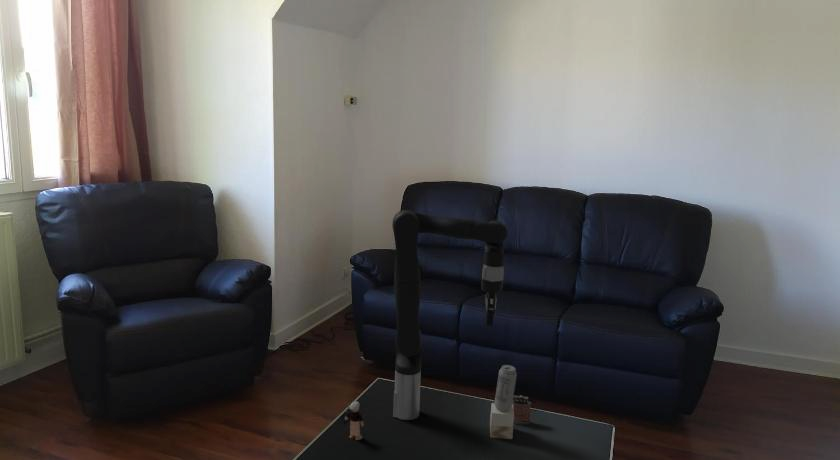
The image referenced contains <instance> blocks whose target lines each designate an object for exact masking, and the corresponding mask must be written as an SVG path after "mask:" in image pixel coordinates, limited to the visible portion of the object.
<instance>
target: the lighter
mask: <svg viewBox="0 0 840 460" xmlns="http://www.w3.org/2000/svg"><path fill="white" fill-rule="evenodd" d="M512 405H513V410H514V424H515V425H530V423H531V421H530V416H531V407H532V403H531V402H530V401H529V397H528V396H523V395H522V394H520V395H519V396H518V395H513V402H512ZM514 424H513V425H514Z"/></svg>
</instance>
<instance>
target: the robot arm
mask: <svg viewBox="0 0 840 460" xmlns="http://www.w3.org/2000/svg"><path fill="white" fill-rule="evenodd" d="M391 224H392V231H393V237H394V244H395V259H394V260H395V262H394V270H393V272H394V273H393V276H394V277H393V280H394V281H393V287H394V301H395V310H396V319H397V322H396V323H397V324H396V336H395V347H396V355H395V366H394V367H395V369H394V370H395V371H394V391H393V404H392V406H393V408H392V410H393V412H392V413H393V414H392V417H393V418H397V419H399V420H404V421H412V420H415V419H418V418H419V416H420V405H421V404H420V403H421V400H420V399H421V376H422V375H421V374H422V373H421V372H422V361H423V360H422V357H423V356H422V355H423V333H422V331H421V330H420V326H419V312H420V302H421V295H422V293H421V292H422V290H421V287H422V286H421V284H422V283H421V282H422V281H421V270H420V269H421V267H420V261H419V255H418V242H419V234H433V235H440V236H442V237H448V238H453V239H459V240H471V241H472V240H473V241H475V240H476V241H480V242H484V255H483V266H482V271H481V285H480V289H481V290H482V291H483V292H485V293H486V294H485V296H484V297H485V309H486V311H485V318H486V326H489V327H490V326H491V327H493V325H494V316H495V310H496V307H497V306H496V305H497V302H498V301H497V300H498V296H497V295H498V294H499V293H501V292H502V291H503V286H504V274H505V273H504V272H505V271H504V264H505V251H504V241H506V239H507V237H508V234H509V233H508V232H509V231H508V229H507V227H506V226H505V225H504V224H503V223H502V222H501V221H499V220H496V219H493V220H490V221H489V222H483V221H479V220H476V219H471V218H459V217H445V216H444V217H443V216H434V215H429V214H424V213H420V212H416V211H412V210H409V209H401V210H399V211H398V212H396V213H395V214H394V216H393V218H392V223H391ZM497 293H498V294H497Z"/></svg>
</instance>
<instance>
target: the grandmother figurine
mask: <svg viewBox="0 0 840 460" xmlns="http://www.w3.org/2000/svg"><path fill="white" fill-rule="evenodd" d="M360 406H361V405H360V402H359V401H353V402H352V403H351V404H350V406H349V410H351V411H349V412H347V413H346V414H345V417H344V420H345V421H347V420H348V419H349V418H350V422H349V429H350V431H349V433H350V435H349V438H350V439H354V440H356V441H359V440H362V439H363V435H361V427H364V426H365V423H364V419H363V417H362V414H361V413H360V412H359V410H360Z"/></svg>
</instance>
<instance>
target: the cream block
mask: <svg viewBox="0 0 840 460" xmlns="http://www.w3.org/2000/svg"><path fill="white" fill-rule="evenodd" d="M494 403H495V402H491V405H490V406H491V407H490V415H491V425H495V426H507V427H513V428H514V424H513V423H514V410H513V405H512V408H511V409H510V410H509V411H506V412H504V411H500V410H498V409H496V406H495V405H494Z"/></svg>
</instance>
